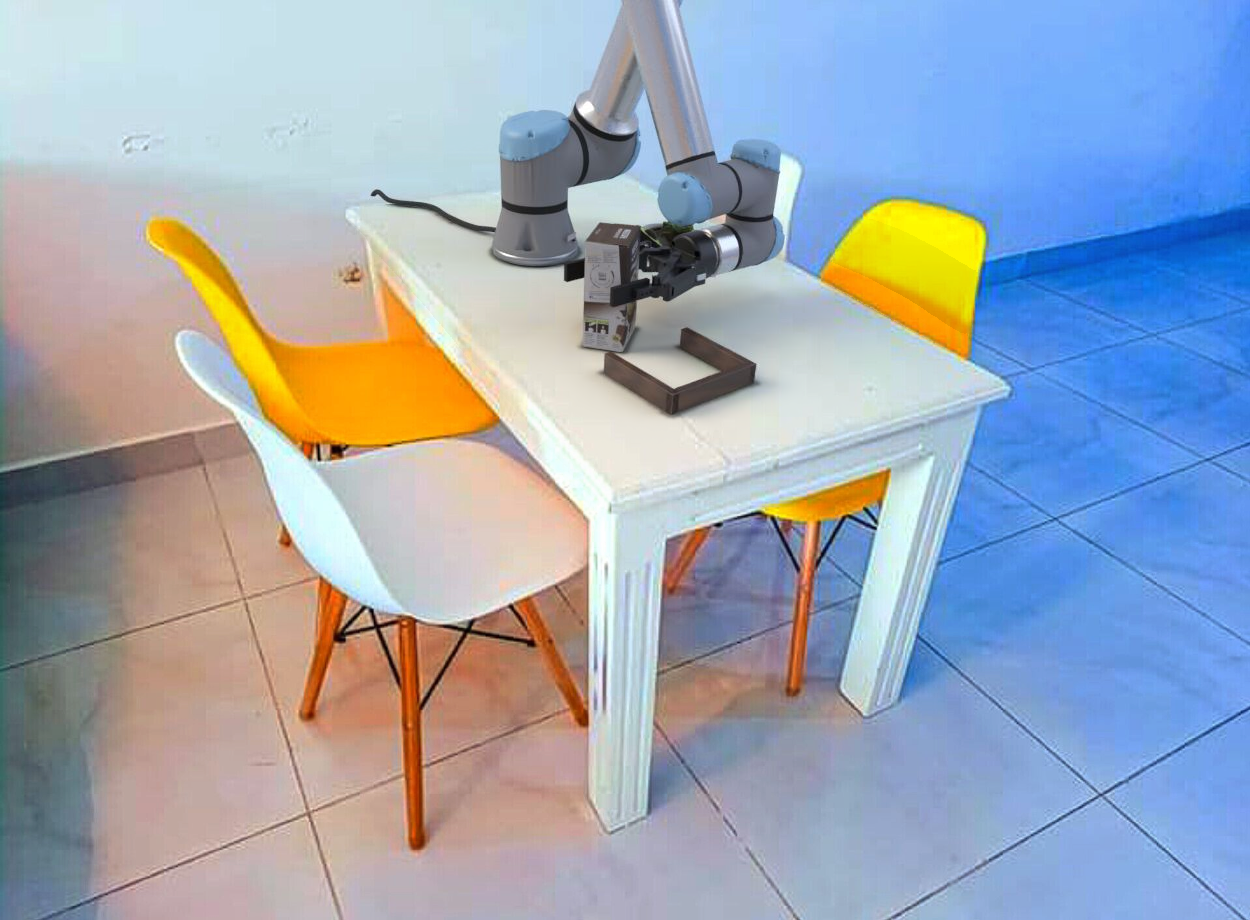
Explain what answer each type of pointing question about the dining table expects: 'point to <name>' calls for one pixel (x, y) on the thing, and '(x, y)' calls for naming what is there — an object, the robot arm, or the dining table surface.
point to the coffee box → (609, 285)
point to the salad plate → (662, 233)
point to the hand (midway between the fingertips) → (588, 284)
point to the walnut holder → (675, 400)
